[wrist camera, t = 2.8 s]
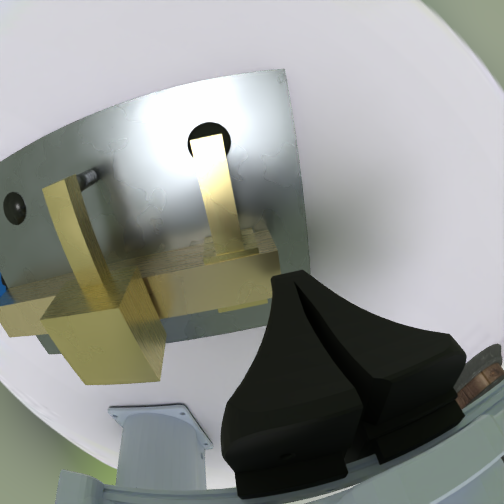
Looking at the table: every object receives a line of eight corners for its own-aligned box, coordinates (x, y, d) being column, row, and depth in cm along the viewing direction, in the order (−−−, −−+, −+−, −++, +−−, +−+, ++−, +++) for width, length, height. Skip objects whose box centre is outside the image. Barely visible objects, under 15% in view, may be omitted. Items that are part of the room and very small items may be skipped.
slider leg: (171, 305, 15) (160, 381, 10) (111, 316, 15) (85, 385, 10) (123, 155, 11) (69, 180, 7) (56, 180, 11) (-9, 216, 6)
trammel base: (309, 306, 18) (324, 340, 15) (52, 347, 17) (38, 375, 14) (280, 71, 12) (299, 58, 9) (-25, 180, 11) (-55, 195, 8)
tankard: (511, 344, 29) (568, 418, 12) (454, 411, 36) (495, 484, 18) (454, 341, 23) (543, 471, 6) (372, 430, 30) (418, 544, 12)
